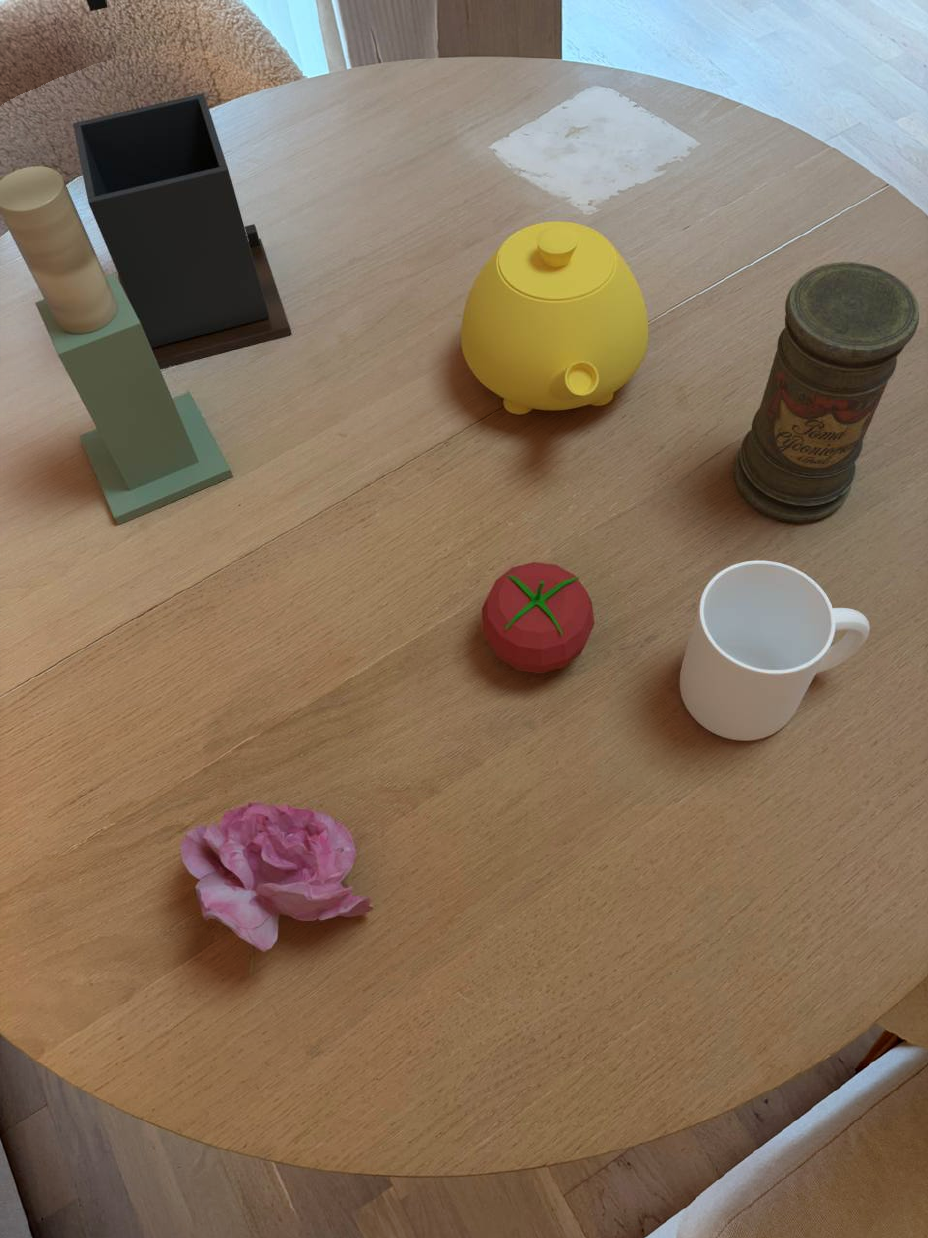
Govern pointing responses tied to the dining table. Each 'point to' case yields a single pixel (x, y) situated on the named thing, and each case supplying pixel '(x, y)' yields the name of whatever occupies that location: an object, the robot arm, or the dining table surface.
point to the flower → (271, 869)
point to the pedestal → (135, 416)
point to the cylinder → (57, 249)
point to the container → (824, 389)
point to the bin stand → (238, 334)
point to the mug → (761, 648)
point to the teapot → (554, 320)
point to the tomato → (537, 617)
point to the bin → (170, 218)
